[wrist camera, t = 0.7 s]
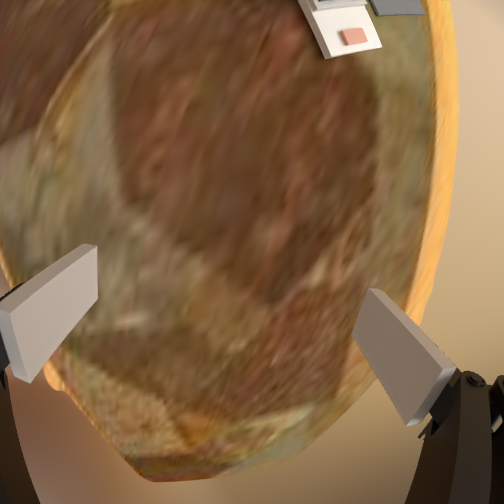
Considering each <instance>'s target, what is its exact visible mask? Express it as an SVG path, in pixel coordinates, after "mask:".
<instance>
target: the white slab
mask: <svg viewBox="0 0 504 504" xmlns="http://www.w3.org/2000/svg"><path fill="white" fill-rule="evenodd" d="M297 1H298V2H299V4H300V6H301V8H302V10H303V12H304V14H305V16H306V18H307V20H308V23H309V25H310V27H311V29H312V31H313V33H314V35H315V38H316V40H317V42H318V44H319V47H320V49H321V51H322V54H323V56H324V58H325V59H328V58H333V57H337V56H342V55H346V54H351V53H356V52H362V51H367V50H373V49H377V48H381V47H382V45H381V43H380V40H379V38H378V35H377V33H376V31H375V28H374V26H373V24H372V21H371V19H370V17H369V15H368V13H367V10H366V8H365V6H364V5H366V4H367V2H366V0H331V1H323V2H318V0H297Z"/></svg>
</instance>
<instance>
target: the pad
mask: <svg viewBox="0 0 504 504" xmlns="http://www.w3.org/2000/svg"><path fill="white" fill-rule="evenodd" d="M370 2H371V4H372V6H373V8H374V10H375V12H376V15H377V16H388V15H424V14H425V12H424V10H423V8H422V5H421V3H420V1H419V0H370Z"/></svg>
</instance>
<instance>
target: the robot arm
mask: <svg viewBox="0 0 504 504" xmlns="http://www.w3.org/2000/svg"><path fill="white" fill-rule="evenodd" d="M97 299H98V285H97V246H95V245H89V244H82V245H81V246H79V247H77V248H76V249H74V250H73V251H71V252H70V253H68V254H67V255H65V256H64V257H62V258H61V259H59V260H58V261H56V262H55V263H53V264H52V265H50V266H49V267H47V268H46V269H44V270H43V271H41V272H40V273H39V274H37V275H36V276H34V277H33V278H31V279H30V280H29V281H27V282H24V283H21V284H19V285H17V286H16V287H14V288H13V289H12V290H11V291H10V292H8V293H6V294H5V296H2V297H1V298H0V504H40V502H39V499H38V497H37V494H36V492H35V489H34V486H33V484H32V481H31V478H30V475H29V472H28V470H27V467H26V463H25V460H24V457H23V453H22V450H21V446H20V442H19V438H18V434H17V430H16V426H15V421H14V416H13V411H12V406H11V400H10V393H9V387H8V379H7V375H6V373H5V368H6V367H7V366H8V364H9V363H10V366H11V368H12V371H13V374H14V376H15V377H17V378H20V379H21V380H24V381H26V382H28V383H31V382H32V380H33V379H34V378H35V376H36V375H37V374H38V372H39V371H40V370H41V368H42V367H43V366H44V364H45V363H46V362H47V360H48V359H49V358H50V356H51V355H52V354H53V352H54V351H55V350H56V349H57V347H58V346H59V345H60V344H61V342H62V341H63V340H64V339H65V337H66V336H67V335H68V334H69V332H70V331H71V330H72V329H73V327H74V326H75V325H76V324H77V323H78V321H79V320H80V319H81V318H82V317H83V316H84V314H85V313H86V312H87V311H88V310H89V308H90V307H91V306H92V305H93V304H94V303H95V302H96V300H97ZM351 335H352V337H353V338H354V340H355V341H356V343H357V345H358V346H359V348H360V349H361V351H362V353H363V354H364V356H365V357H366V359H367V361H368V362H369V364H370V366H371V367H372V369H373V371H374V372H375V374H376V376H377V377H378V379H379V381H380V382H381V384H382V386H383V387H384V389H385V391H386V392H387V394H388V396H389V397H390V399H391V401H392V402H393V404H394V406H395V408H396V409H397V411H398V413H399V415H400V416H401V418H402V420H403V422H404V423H405V425H406V426H410V425H414V424H419V423H421V422H422V421H423V419H424V418H425V416H426V415H427V414H428V412H429V413H430V414H431V416H432V419H431V420H430V422H429V423H428V424H427V426H426V427H425V428H424V430H423V431H422V432H421V433H420V435H419V436H418V438H421V436H422V435H424V434H426V435H425V438H424V439H423V440H424V443H423V447H422V451H421V455H420V458H419V462H418V465H417V469H416V472H415V475H414V478H413V481H412V485H411V487H410V491H409V493H408V496H407V499H406V501H405V504H504V375H500V376H498V377H497V379H496V381H495V382H494V384H493V385H487V384H486V382H485V380H484V379H483V378H482V377H481V376H479V375H478V374H476V373H474V372H471V371H464V372H460V370H459V369H458V368H457V367H456V366H455V365H454V364H453V363H452V361H451V360H450V359H449V358H448V357H447V356H446V355H445V354H444V353H443V352H442V351H441V350H440V349H439V347H438V346H437V345H436V344H435V343H434V342H433V341H432V340H431V339H430V338H429V337H428V336H427V335H426V334H425V333H424V332H423V331H422V330H421V329H420V328H419V327H418V326H417V325H416V324H415V323H414V322H413V321H412V320H411V319H410V318H409V317H408V316H407V315H406V314H405V313H404V312H403V311H402V310H401V309H400V308H399V307H398V306H397V305H396V304H395V303H394V302H393V301H392V300H391V299H390V298H389V297H388V296H387V295H386V294H385V293H384V292H383V291H382V290H381V289H374V288H368V290H367V293H366V296H365V299H364V302H363V305H362V307H361V310H360V313H359V316H358V319H357V321H356V324H355V327H354V329H353V332H352V334H351ZM501 417H502V420H503V422H502V424H501V425H500V426H499V428H498V429H497V430H496V431H495V432H493V429H492V428H493V427H494V425H495V424H496V423H497V421H498V420H499V419H500V418H501Z"/></svg>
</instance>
